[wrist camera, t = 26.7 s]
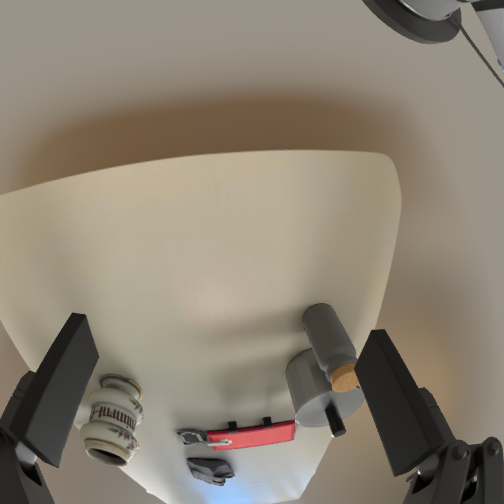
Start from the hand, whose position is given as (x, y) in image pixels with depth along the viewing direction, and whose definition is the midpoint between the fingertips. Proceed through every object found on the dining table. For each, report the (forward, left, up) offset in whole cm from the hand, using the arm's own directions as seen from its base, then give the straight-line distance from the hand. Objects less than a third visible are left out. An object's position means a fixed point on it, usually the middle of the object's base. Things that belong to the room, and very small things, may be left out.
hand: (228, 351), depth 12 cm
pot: (-19, +34, -27) cm, 48 cm away
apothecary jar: (+22, +41, -28) cm, 54 cm away
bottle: (-17, +20, -28) cm, 38 cm away
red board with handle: (-4, +61, -28) cm, 67 cm away
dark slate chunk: (+4, +89, -28) cm, 93 cm away
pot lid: (-19, +34, -17) cm, 43 cm away
